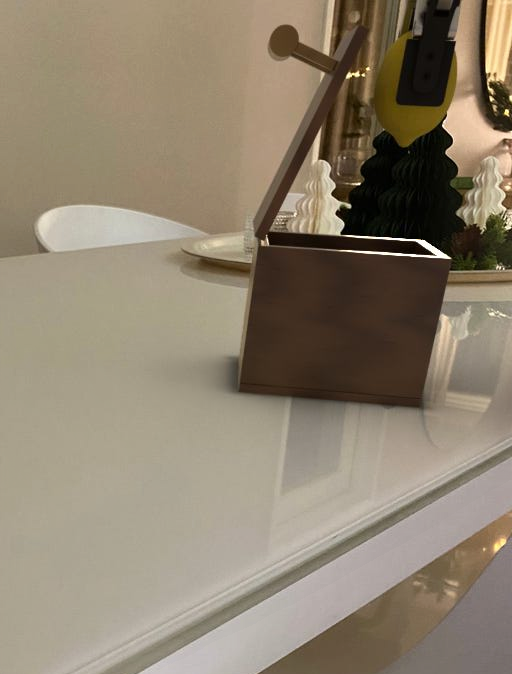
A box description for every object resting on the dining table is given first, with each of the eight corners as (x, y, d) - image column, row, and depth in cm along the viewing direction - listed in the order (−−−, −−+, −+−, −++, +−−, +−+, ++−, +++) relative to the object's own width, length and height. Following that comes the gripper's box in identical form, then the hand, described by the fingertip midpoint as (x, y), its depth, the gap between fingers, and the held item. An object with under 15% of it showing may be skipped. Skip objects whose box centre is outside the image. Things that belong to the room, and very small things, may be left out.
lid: (352, 41, 80) (284, 8, 80) (370, 28, 69) (291, -10, 69) (261, 225, 87) (198, 195, 86) (264, 241, 76) (191, 206, 75)
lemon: (366, 144, 80) (387, 24, 76) (442, 149, 78) (467, 26, 75) (362, 145, 75) (384, 17, 72) (442, 150, 74) (469, 19, 70)
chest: (397, 373, 90) (424, 240, 85) (419, 409, 79) (452, 258, 74) (238, 360, 92) (255, 229, 87) (238, 393, 81) (258, 245, 76)
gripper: (569, -249, 59) (490, 108, 68) (502, -174, 74) (445, 110, 83) (433, -250, 60) (371, 102, 69) (394, -176, 75) (348, 105, 84)
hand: (412, 103), depth 76 cm, fingers closed on lemon, 5 cm apart
